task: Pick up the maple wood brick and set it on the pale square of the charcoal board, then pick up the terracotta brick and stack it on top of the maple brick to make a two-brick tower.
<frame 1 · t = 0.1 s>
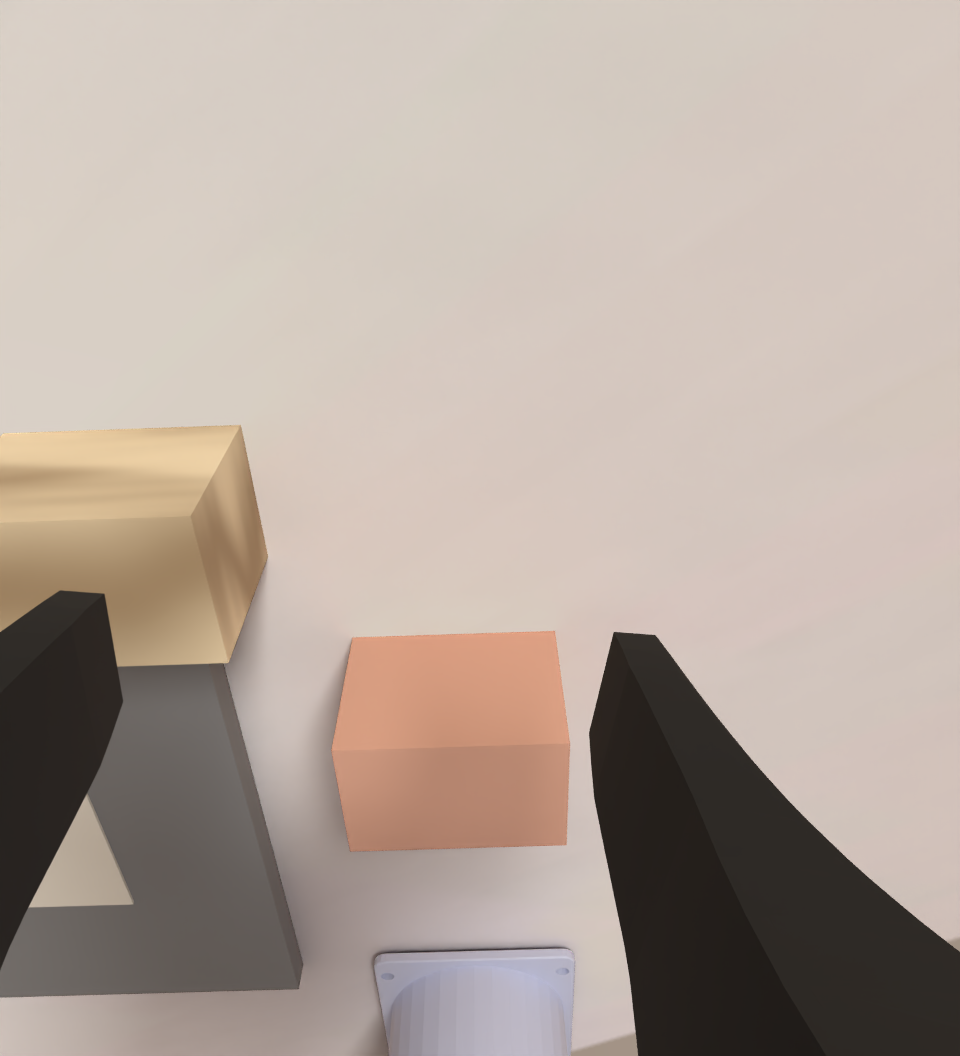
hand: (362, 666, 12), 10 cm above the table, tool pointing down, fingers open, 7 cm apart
terracotta brick: (456, 682, 26), on the table
maple brick: (143, 495, 22), on the table
baseplate: (8, 827, 29), on the table
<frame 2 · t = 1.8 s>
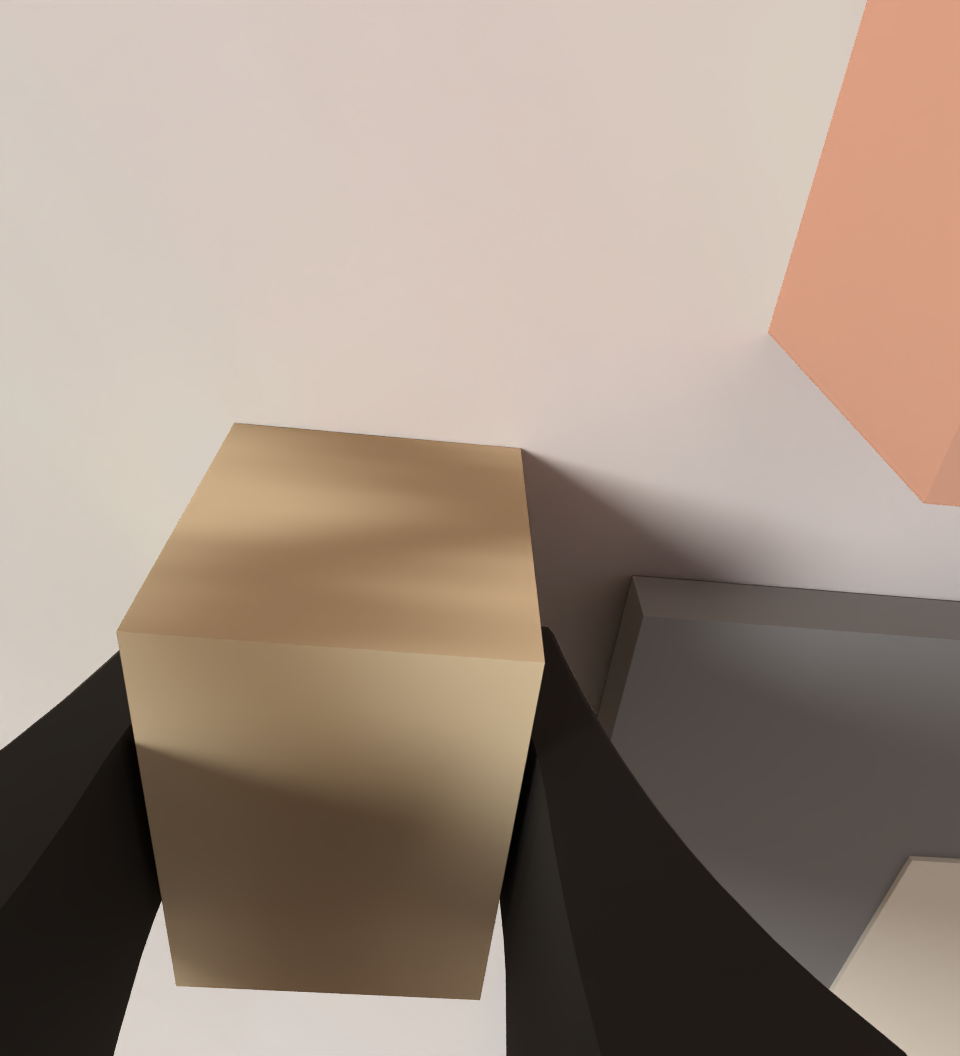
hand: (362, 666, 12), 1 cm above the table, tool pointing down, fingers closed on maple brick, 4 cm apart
maple brick: (371, 605, 13), on the table, touching gripper
baseplate: (951, 938, 18), on the table
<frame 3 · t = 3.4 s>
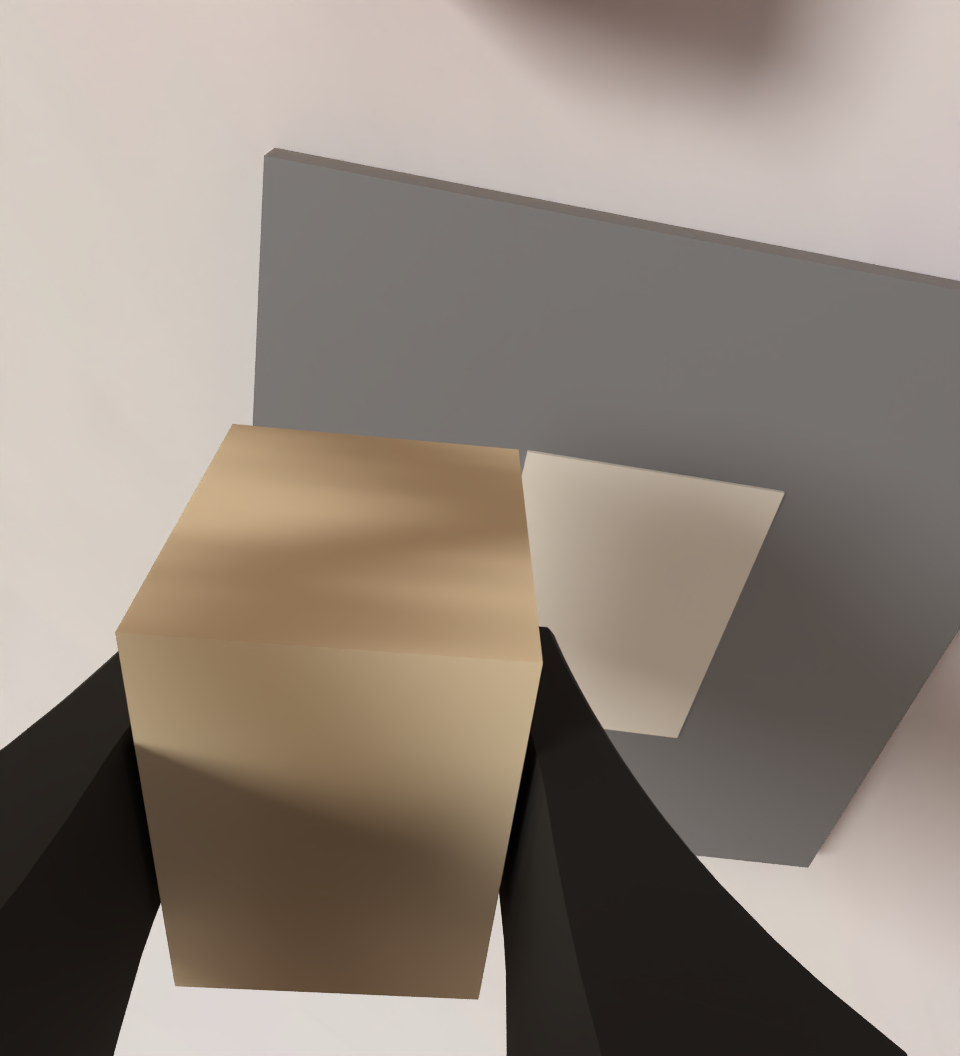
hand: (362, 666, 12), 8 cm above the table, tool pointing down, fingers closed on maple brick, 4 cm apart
maple brick: (370, 605, 13), point 7 cm above the table, touching gripper
baseplate: (605, 585, 22), on the table
when the fingers open (3 cm above the table, at t = 5.2 s): maple brick stays where it is, resting on baseplate.
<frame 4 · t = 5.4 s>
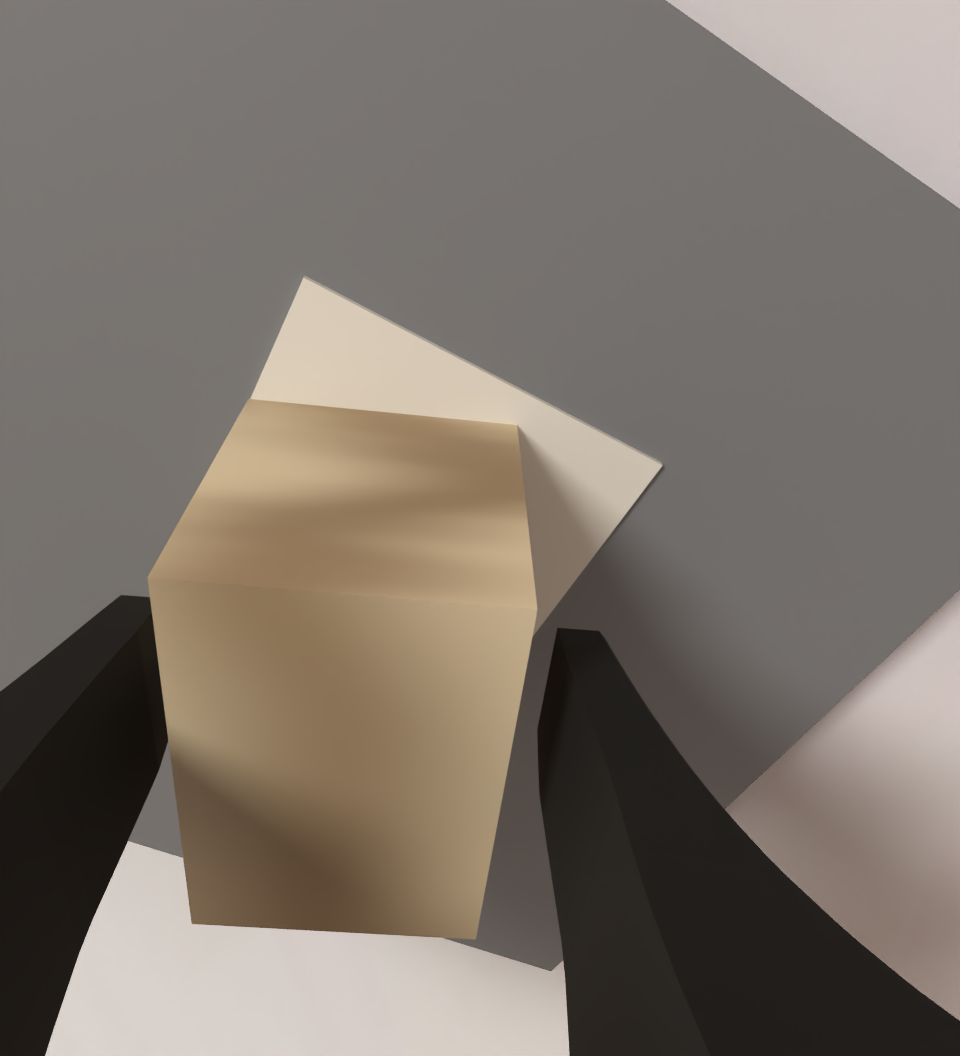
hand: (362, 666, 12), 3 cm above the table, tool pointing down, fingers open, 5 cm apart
maple brick: (375, 574, 14), point 1 cm above the table, touching baseplate
baseplate: (383, 538, 15), on the table
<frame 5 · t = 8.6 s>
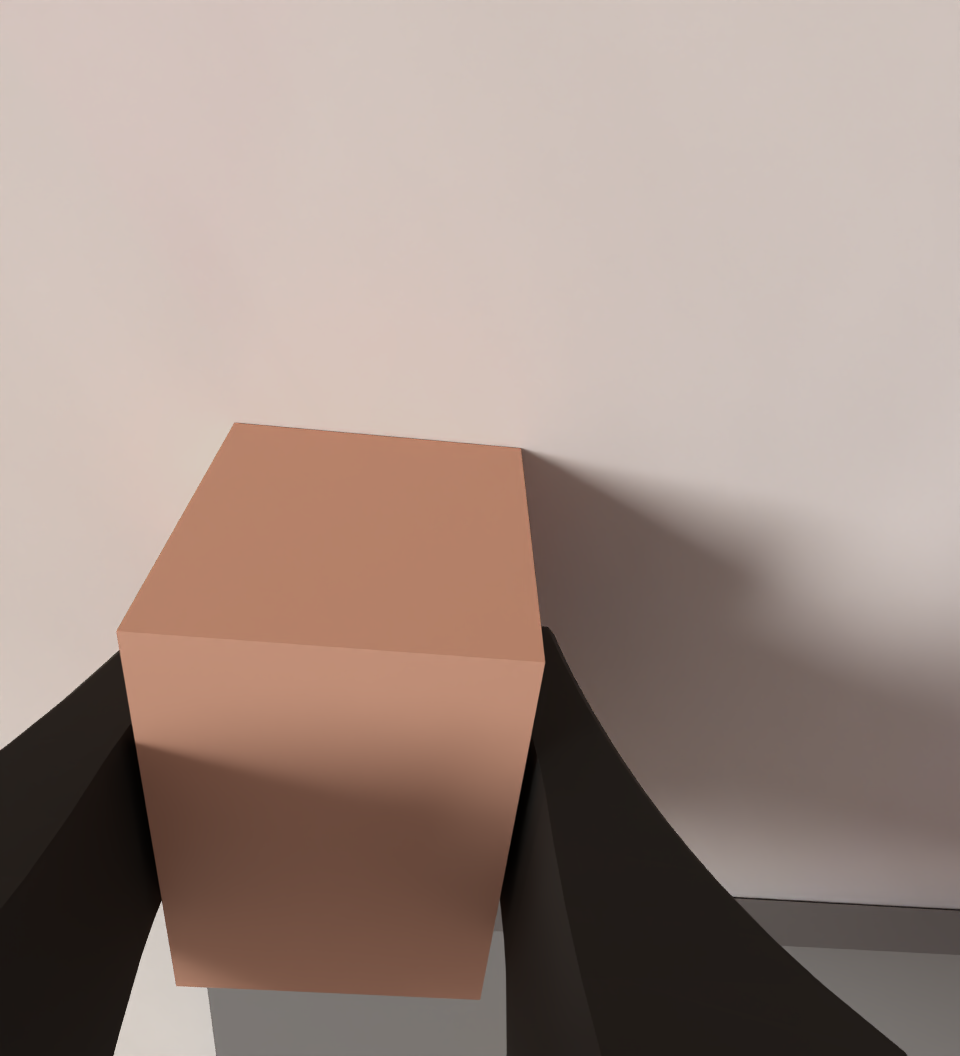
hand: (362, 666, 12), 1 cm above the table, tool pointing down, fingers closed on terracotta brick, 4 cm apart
terracotta brick: (371, 605, 13), on the table, touching gripper
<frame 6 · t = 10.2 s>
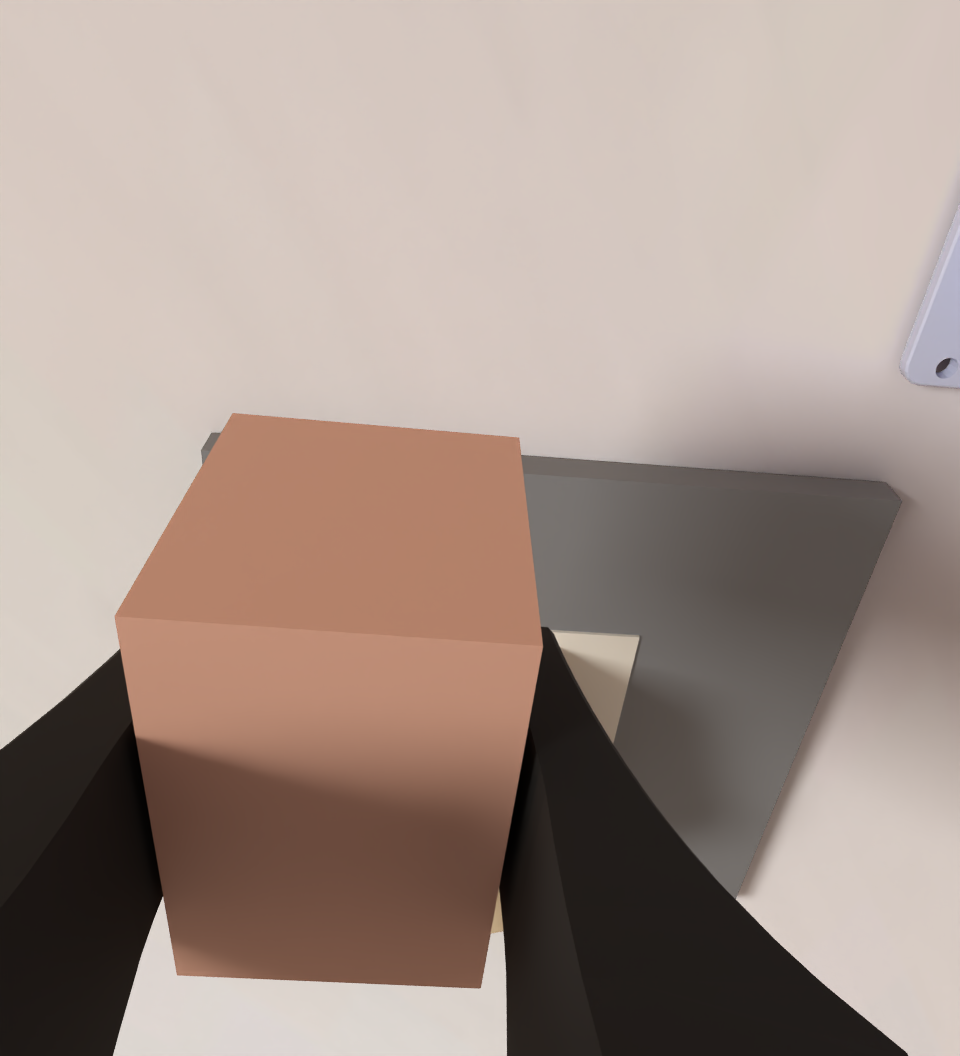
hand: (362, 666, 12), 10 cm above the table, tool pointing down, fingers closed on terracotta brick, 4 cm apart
terracotta brick: (371, 596, 13), point 9 cm above the table, touching gripper
baseplate: (518, 705, 27), on the table
when the fingers open (8 cm above the table, at t = 11.8 s): terracotta brick stays where it is, resting on maple brick.
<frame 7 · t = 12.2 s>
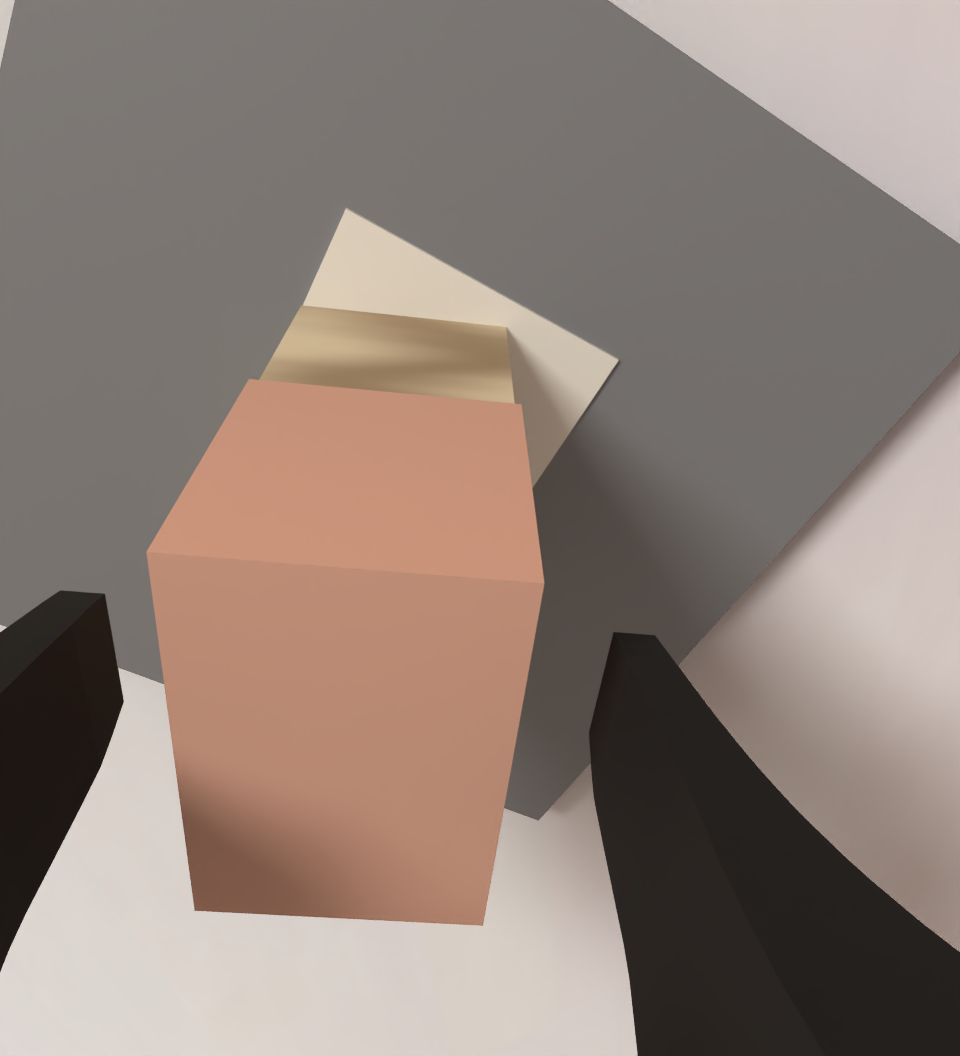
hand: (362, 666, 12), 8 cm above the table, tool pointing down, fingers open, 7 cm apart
terracotta brick: (378, 559, 14), point 6 cm above the table, touching maple brick
maple brick: (395, 452, 18), point 1 cm above the table, touching baseplate, terracotta brick
baseplate: (401, 429, 19), on the table
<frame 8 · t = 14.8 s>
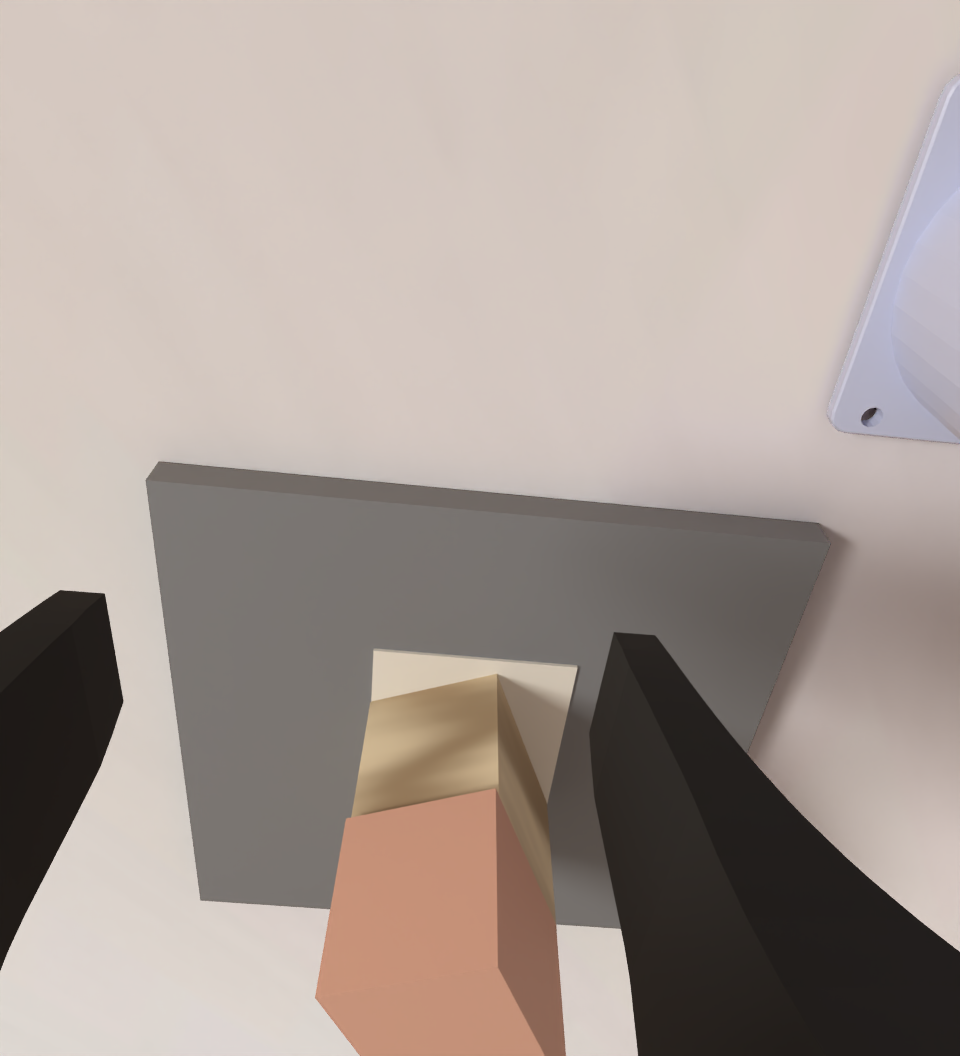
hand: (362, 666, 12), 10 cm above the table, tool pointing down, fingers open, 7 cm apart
terracotta brick: (456, 874, 22), point 6 cm above the table, touching maple brick
maple brick: (462, 754, 26), point 1 cm above the table, touching baseplate, terracotta brick
baseplate: (464, 728, 27), on the table
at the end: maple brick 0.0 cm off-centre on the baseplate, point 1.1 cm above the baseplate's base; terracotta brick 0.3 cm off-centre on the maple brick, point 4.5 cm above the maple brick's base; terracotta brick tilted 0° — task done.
